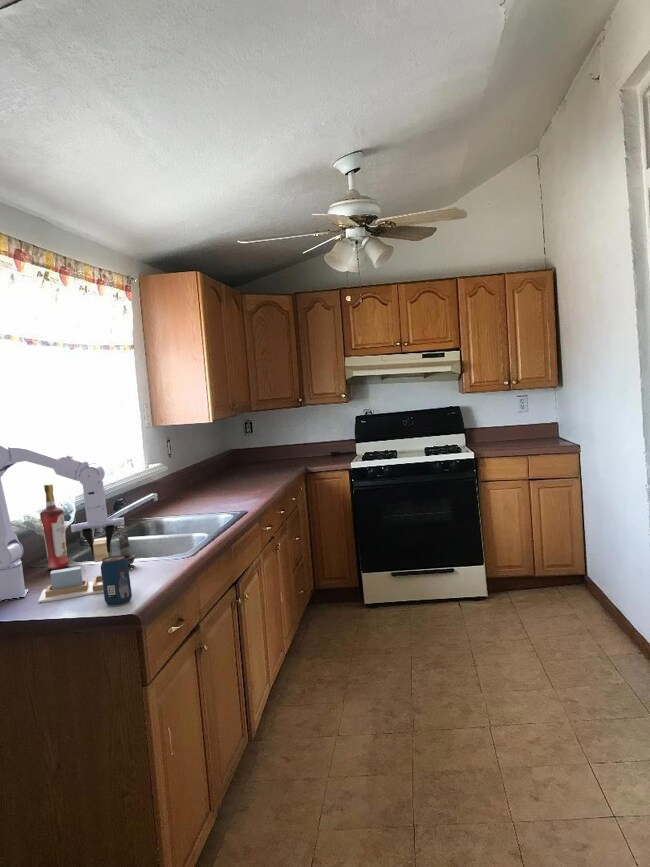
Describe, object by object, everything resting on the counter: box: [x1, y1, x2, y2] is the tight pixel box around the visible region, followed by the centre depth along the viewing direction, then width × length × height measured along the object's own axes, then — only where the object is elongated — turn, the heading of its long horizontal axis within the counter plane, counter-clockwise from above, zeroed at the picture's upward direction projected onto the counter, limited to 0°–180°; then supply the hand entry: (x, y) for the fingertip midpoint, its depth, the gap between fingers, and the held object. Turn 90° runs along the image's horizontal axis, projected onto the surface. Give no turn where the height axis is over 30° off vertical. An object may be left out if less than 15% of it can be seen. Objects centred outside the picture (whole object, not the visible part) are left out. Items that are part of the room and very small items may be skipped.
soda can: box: [100, 554, 133, 607], centre depth 187 cm, size 7×7×12 cm
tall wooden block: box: [93, 537, 110, 563], centre depth 205 cm, size 9×4×5 cm, turn 16°
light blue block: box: [49, 565, 84, 590], centre depth 203 cm, size 8×4×6 cm, turn 106°
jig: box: [37, 574, 104, 604], centre depth 204 cm, size 21×13×2 cm, turn 105°
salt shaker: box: [118, 530, 136, 570], centre depth 226 cm, size 6×6×12 cm
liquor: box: [39, 483, 70, 571], centre depth 235 cm, size 7×7×28 cm
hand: (101, 553), depth 205 cm, fingers closed on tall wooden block, 3 cm apart
